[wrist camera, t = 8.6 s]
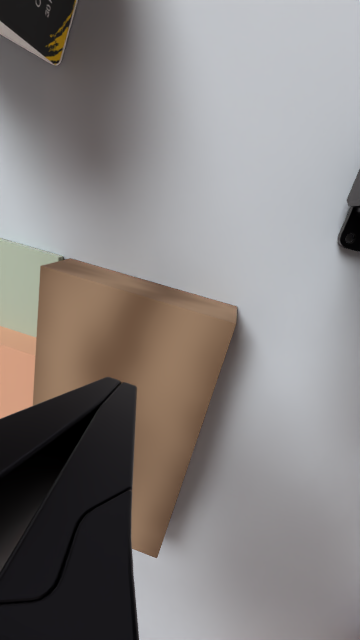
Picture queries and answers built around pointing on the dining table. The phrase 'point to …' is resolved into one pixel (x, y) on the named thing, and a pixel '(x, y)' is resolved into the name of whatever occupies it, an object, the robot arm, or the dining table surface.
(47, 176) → the dining table surface
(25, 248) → the mat
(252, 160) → the dining table surface
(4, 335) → the coaster
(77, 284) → the board
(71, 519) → the robot arm
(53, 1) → the medicine bottle
